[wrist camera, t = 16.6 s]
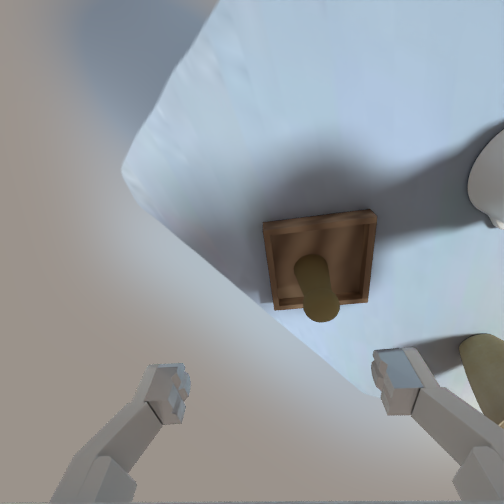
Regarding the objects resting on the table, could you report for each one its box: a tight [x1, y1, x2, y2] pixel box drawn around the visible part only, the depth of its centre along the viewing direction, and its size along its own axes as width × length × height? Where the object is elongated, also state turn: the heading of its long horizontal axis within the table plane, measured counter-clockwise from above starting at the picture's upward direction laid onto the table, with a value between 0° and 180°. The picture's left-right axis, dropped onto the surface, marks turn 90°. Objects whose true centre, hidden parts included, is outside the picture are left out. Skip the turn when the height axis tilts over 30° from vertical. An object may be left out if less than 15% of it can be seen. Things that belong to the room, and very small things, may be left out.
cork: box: [294, 254, 340, 322], centre depth 40 cm, size 6×6×11 cm
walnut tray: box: [263, 209, 377, 310], centre depth 43 cm, size 17×17×3 cm
